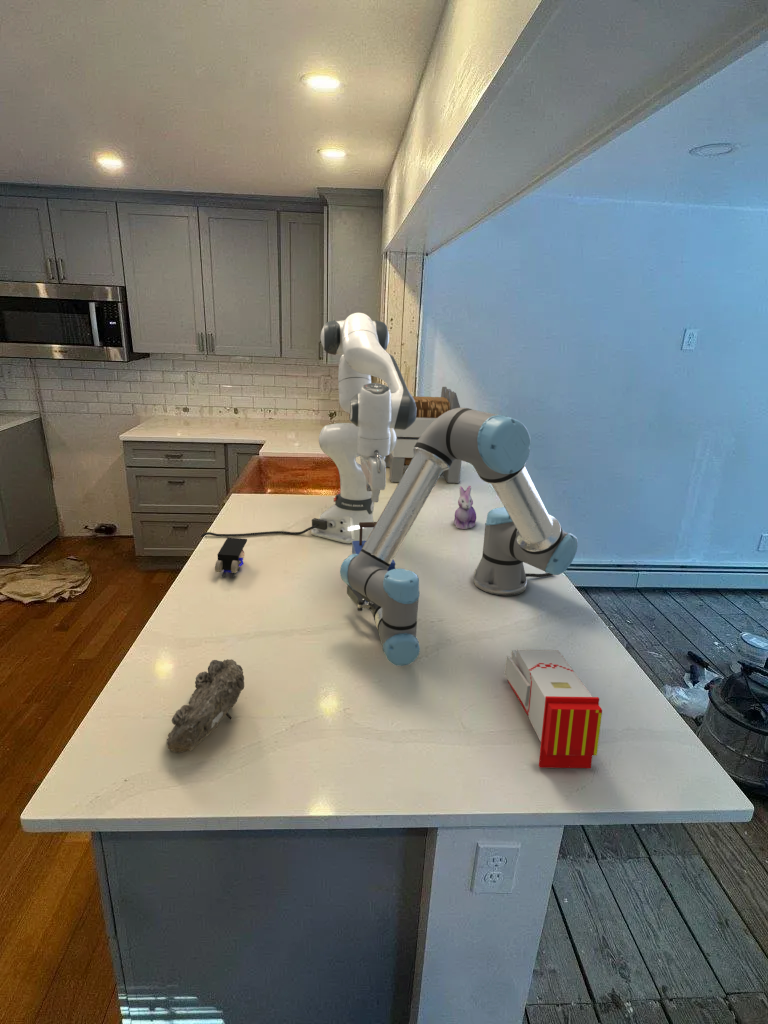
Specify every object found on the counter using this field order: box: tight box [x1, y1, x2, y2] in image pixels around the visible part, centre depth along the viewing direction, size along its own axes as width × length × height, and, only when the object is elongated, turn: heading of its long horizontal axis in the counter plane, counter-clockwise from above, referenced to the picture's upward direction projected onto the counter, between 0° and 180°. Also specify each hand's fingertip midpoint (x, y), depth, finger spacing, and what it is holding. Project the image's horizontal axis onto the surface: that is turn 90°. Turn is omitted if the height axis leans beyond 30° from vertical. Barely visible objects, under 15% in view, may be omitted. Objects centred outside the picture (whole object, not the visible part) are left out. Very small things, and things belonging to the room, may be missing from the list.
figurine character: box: [214, 537, 248, 578], centre depth 166 cm, size 7×8×15 cm
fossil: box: [166, 658, 245, 754], centre depth 106 cm, size 22×10×15 cm
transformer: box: [384, 386, 463, 484], centre depth 268 cm, size 34×33×41 cm
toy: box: [504, 648, 603, 769], centre depth 111 cm, size 12×13×30 cm
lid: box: [351, 521, 396, 567], centre depth 155 cm, size 16×10×8 cm, turn 10°
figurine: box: [453, 485, 477, 530], centre depth 208 cm, size 9×10×15 cm
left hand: (372, 496), depth 155 cm, fingers open, 8 cm apart
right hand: (374, 574), depth 153 cm, fingers closed on chest, 9 cm apart
